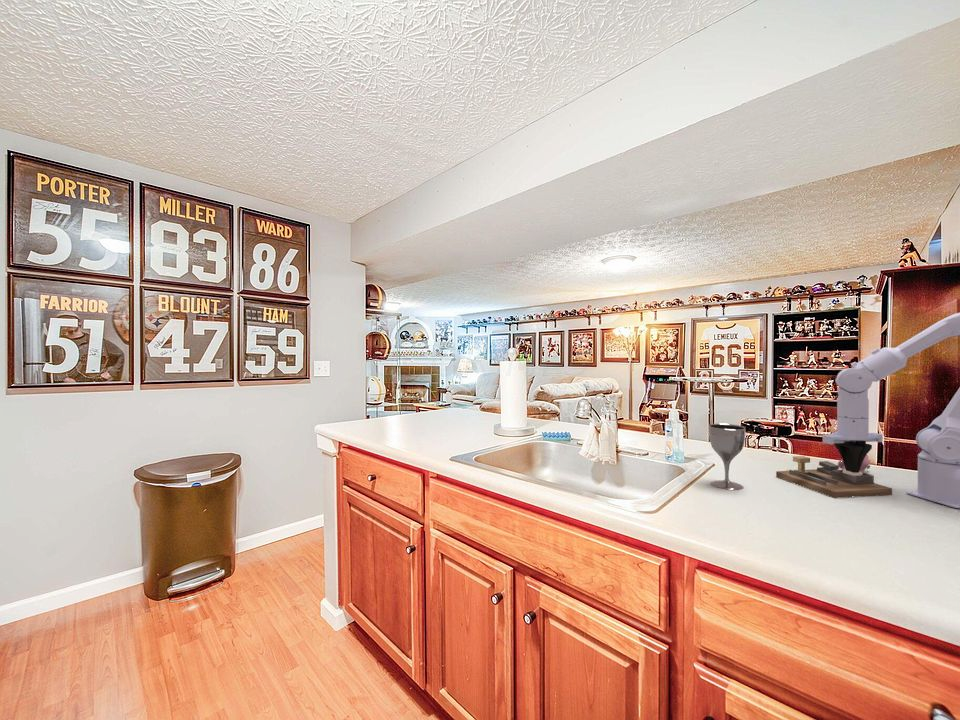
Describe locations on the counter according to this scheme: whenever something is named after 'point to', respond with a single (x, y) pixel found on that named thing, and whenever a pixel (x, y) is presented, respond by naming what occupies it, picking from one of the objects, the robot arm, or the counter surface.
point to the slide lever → (801, 463)
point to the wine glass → (727, 449)
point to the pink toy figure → (864, 465)
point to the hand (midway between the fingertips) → (852, 471)
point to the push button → (852, 473)
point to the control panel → (836, 482)
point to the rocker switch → (828, 465)
